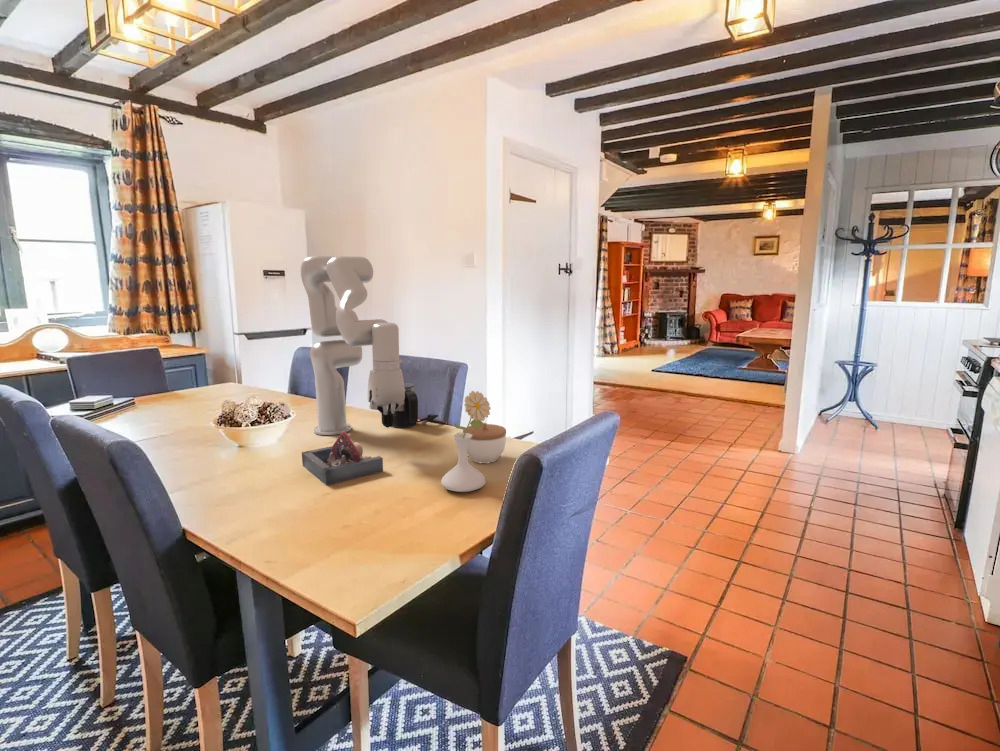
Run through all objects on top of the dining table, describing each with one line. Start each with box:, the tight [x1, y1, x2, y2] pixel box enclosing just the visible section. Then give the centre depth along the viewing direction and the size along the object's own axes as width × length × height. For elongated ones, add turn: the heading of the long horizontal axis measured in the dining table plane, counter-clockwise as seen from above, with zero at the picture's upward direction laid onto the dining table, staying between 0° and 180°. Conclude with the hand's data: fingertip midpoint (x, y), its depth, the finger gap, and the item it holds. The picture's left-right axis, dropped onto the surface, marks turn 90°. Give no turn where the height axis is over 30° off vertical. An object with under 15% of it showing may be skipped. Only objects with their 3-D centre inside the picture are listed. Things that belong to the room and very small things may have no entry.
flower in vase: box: [440, 390, 491, 493], centre depth 136 cm, size 13×11×25 cm
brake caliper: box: [327, 432, 373, 467], centre depth 152 cm, size 11×11×12 cm
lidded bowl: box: [462, 422, 507, 464], centre depth 158 cm, size 13×13×11 cm
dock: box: [301, 445, 384, 486], centre depth 152 cm, size 19×16×4 cm
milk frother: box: [391, 382, 439, 429], centre depth 196 cm, size 14×16×15 cm
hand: (387, 426), depth 160 cm, fingers closed
